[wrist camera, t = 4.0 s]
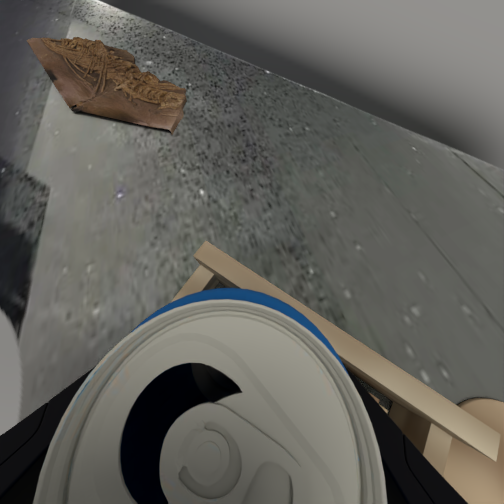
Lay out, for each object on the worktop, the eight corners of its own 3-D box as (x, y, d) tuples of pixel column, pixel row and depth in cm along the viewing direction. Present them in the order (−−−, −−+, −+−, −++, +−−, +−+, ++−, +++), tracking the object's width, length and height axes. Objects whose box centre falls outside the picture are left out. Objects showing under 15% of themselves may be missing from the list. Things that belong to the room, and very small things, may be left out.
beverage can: (225, 292, 16) (182, 226, 5) (295, 337, 15) (456, 393, 4) (175, 369, 14) (-118, 589, 3) (251, 426, 13) (306, 1120, 2)
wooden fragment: (210, 108, 23) (208, 98, 22) (137, 163, 20) (131, 155, 19) (77, 24, 28) (71, 13, 27) (1, 58, 25) (-9, 47, 24)
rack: (383, 497, 12) (471, 610, 7) (165, 329, 15) (129, 334, 10) (414, 395, 14) (500, 434, 9) (216, 262, 17) (205, 240, 12)
